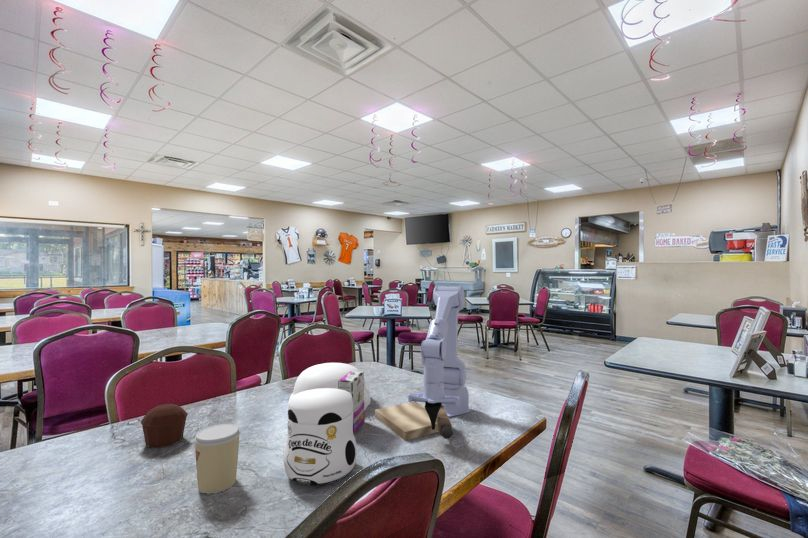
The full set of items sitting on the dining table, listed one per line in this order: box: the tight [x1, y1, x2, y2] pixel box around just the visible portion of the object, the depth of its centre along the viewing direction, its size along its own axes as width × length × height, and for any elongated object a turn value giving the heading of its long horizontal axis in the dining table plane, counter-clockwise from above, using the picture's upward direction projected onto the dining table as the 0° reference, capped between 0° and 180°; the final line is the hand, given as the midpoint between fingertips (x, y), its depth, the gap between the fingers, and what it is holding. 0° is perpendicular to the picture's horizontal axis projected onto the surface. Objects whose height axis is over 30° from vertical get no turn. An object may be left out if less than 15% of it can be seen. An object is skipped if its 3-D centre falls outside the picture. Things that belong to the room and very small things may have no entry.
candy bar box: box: [338, 370, 365, 435], centre depth 113 cm, size 11×5×16 cm, turn 168°
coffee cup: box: [193, 423, 241, 495], centre depth 83 cm, size 9×9×12 cm
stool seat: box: [374, 401, 440, 441], centre depth 117 cm, size 16×20×3 cm
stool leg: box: [436, 405, 454, 440], centre depth 107 cm, size 18×3×3 cm, turn 3°
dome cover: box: [289, 362, 371, 411], centre depth 136 cm, size 32×30×14 cm
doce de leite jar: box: [282, 388, 358, 487], centre depth 88 cm, size 17×17×18 cm
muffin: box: [140, 403, 189, 449], centre depth 105 cm, size 12×11×10 cm
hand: (433, 428), depth 104 cm, fingers closed
